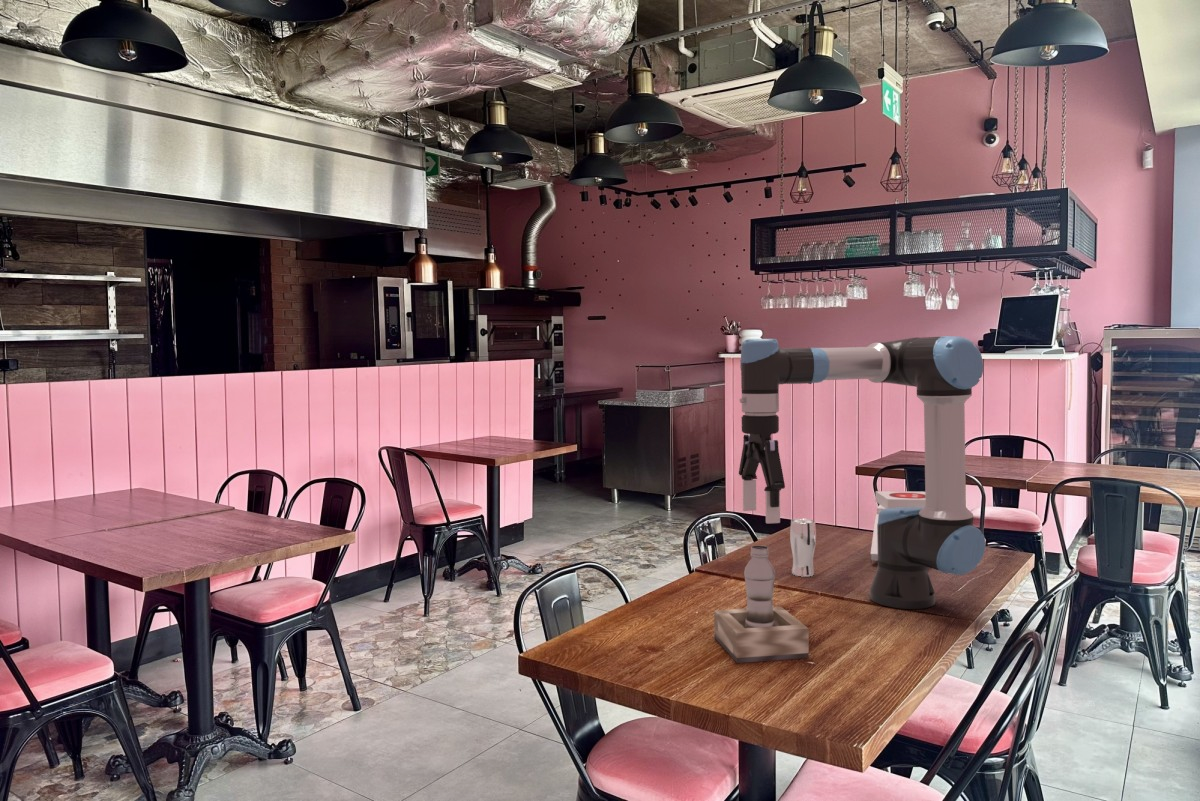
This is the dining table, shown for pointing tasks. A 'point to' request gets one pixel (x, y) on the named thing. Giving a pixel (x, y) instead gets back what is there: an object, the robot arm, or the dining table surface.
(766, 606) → the plastic bottle
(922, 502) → the pizza boxes
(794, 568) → the beer glass
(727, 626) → the bottle holder
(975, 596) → the dining table surface
